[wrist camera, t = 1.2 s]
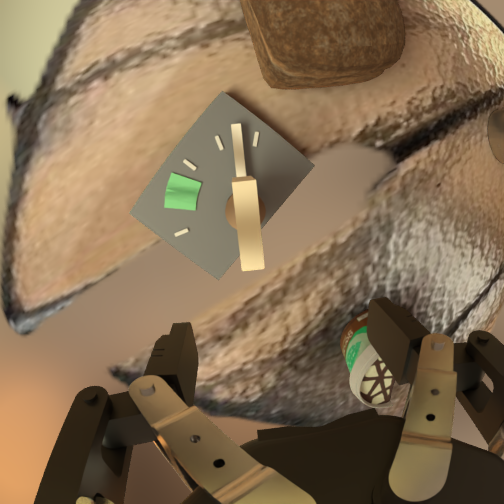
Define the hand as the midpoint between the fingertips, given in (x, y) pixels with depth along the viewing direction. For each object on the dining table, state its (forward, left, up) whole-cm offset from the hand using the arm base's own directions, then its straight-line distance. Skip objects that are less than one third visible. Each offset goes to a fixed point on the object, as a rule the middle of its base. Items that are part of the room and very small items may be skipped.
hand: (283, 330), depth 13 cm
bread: (-27, -16, -23) cm, 39 cm away
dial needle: (-3, -4, -21) cm, 21 cm away
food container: (+4, +22, -23) cm, 32 cm away
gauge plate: (-1, -6, -23) cm, 23 cm away
